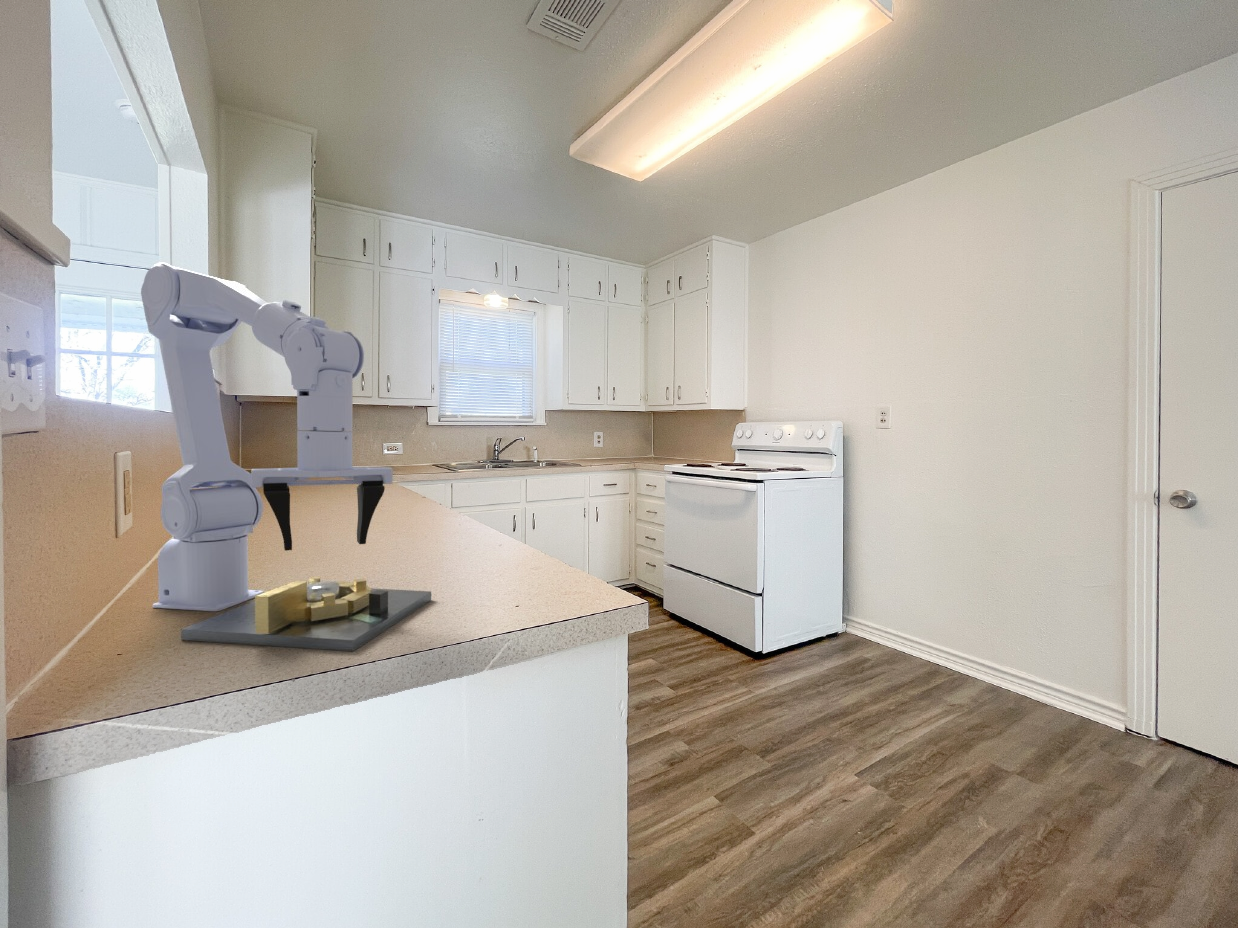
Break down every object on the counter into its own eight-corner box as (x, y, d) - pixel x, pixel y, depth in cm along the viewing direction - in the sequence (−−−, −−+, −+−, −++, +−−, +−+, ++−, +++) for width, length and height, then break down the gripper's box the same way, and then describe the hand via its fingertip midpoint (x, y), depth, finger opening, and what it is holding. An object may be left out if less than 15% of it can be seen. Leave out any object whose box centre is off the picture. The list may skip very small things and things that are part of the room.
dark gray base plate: (181, 639, 59) (180, 604, 58) (297, 592, 76) (296, 565, 76) (353, 651, 56) (353, 613, 56) (431, 599, 74) (431, 571, 74)
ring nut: (309, 590, 72) (309, 561, 72) (386, 594, 71) (386, 565, 71) (214, 630, 58) (214, 593, 57) (310, 636, 56) (309, 599, 56)
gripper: (250, 429, 56) (251, 559, 56) (397, 433, 64) (397, 546, 64) (251, 429, 62) (252, 546, 62) (386, 432, 70) (386, 536, 70)
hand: (325, 545), depth 64 cm, fingers open, 7 cm apart
